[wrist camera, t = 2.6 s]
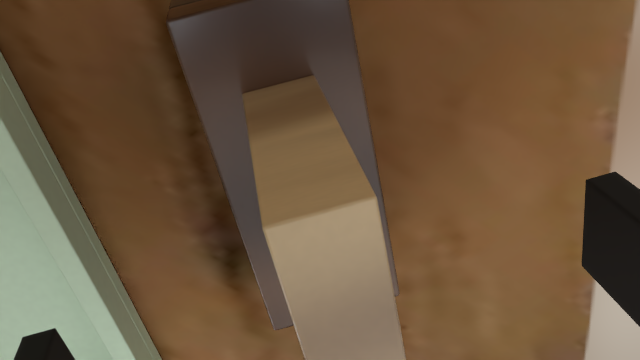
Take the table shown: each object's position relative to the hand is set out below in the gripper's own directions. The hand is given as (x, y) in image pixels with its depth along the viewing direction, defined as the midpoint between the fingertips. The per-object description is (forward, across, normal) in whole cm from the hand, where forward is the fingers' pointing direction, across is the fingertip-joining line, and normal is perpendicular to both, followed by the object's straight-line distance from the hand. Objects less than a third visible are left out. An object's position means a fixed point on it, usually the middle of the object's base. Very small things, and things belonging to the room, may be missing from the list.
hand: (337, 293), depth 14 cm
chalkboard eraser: (+9, 0, 0) cm, 9 cm away
